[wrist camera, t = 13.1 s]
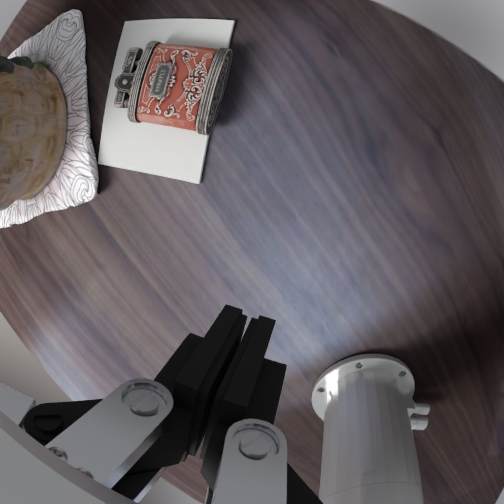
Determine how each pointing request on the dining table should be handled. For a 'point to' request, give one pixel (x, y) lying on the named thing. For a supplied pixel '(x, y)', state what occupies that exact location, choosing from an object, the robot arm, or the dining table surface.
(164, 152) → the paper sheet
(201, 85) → the lighter
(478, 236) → the dining table surface
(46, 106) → the cookie jar
